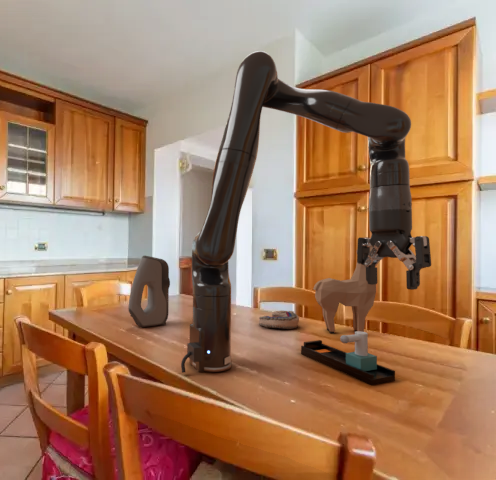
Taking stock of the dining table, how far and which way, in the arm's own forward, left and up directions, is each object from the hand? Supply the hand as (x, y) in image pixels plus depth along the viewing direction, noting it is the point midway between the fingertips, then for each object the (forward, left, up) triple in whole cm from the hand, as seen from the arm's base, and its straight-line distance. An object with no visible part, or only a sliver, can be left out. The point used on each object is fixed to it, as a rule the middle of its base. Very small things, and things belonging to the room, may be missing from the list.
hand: (391, 286), depth 70 cm
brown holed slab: (-33, +65, -21) cm, 76 cm away
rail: (0, +12, -21) cm, 24 cm away
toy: (+26, +35, -21) cm, 48 cm away
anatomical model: (+11, +50, -21) cm, 55 cm away
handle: (-2, +7, -19) cm, 21 cm away
